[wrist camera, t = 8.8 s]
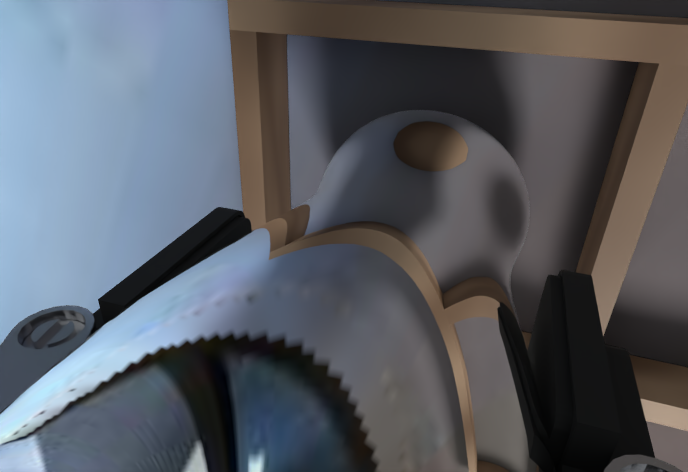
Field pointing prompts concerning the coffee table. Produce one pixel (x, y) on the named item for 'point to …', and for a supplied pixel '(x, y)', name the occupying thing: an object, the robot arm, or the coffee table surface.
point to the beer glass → (320, 333)
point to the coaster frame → (498, 35)
